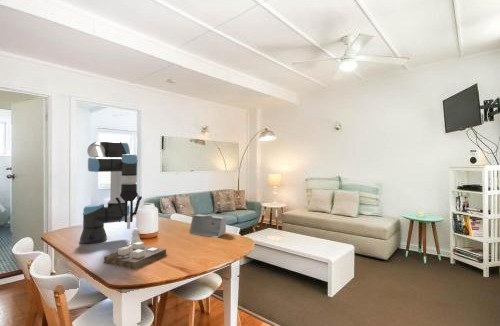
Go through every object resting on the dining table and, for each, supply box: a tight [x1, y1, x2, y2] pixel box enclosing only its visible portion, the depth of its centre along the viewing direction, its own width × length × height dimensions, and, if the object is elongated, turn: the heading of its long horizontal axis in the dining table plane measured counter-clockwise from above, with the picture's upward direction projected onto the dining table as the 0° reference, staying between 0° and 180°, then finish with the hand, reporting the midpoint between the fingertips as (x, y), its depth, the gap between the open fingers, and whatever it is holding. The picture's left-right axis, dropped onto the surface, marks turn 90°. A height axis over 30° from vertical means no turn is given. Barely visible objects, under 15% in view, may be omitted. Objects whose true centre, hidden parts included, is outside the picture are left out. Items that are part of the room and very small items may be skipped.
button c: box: [133, 241, 145, 250], centre depth 152 cm, size 4×4×4 cm
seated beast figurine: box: [126, 227, 143, 248], centre depth 163 cm, size 10×9×12 cm
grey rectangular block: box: [188, 213, 227, 238], centre depth 199 cm, size 25×16×12 cm, turn 64°
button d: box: [147, 247, 159, 253], centre depth 148 cm, size 4×4×4 cm
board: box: [103, 245, 167, 270], centre depth 145 cm, size 20×22×4 cm
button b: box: [132, 249, 144, 259], centre depth 139 cm, size 4×4×4 cm
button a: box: [117, 246, 130, 256], centre depth 143 cm, size 4×4×4 cm
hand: (128, 228), depth 144 cm, fingers closed
